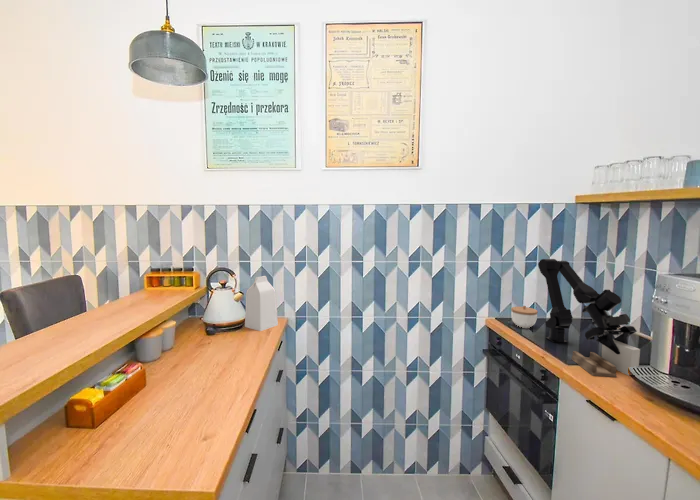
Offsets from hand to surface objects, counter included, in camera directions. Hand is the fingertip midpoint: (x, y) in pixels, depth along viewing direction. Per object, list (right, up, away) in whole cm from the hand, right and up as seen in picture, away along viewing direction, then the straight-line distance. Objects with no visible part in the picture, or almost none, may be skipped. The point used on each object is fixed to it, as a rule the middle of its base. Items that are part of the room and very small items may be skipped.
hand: (623, 353), depth 131 cm
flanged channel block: (-10, -6, +3) cm, 12 cm away
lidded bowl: (-11, -2, +54) cm, 56 cm away
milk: (-150, -1, +50) cm, 158 cm away
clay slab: (0, -6, +2) cm, 7 cm away
